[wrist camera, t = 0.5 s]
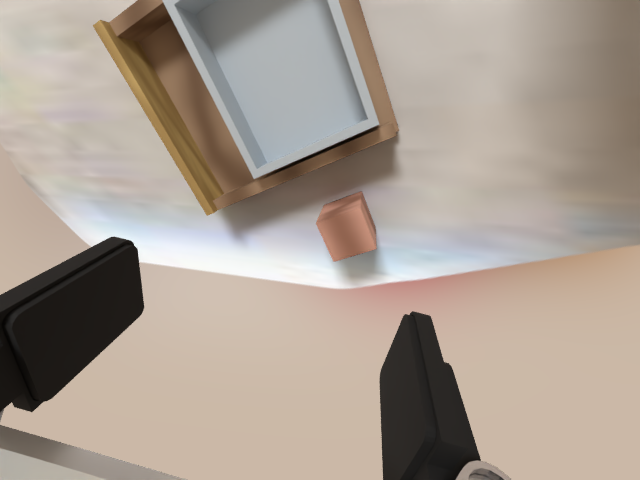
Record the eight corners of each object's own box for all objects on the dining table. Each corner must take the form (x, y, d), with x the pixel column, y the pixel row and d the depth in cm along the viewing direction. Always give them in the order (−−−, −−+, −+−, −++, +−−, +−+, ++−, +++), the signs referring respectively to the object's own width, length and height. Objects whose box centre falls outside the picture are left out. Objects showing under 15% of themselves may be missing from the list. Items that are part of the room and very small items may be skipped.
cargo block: (361, 191, 35) (360, 207, 29) (375, 227, 36) (376, 248, 31) (323, 205, 36) (315, 223, 31) (338, 239, 38) (333, 261, 33)
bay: (326, -104, 24) (316, -150, 20) (398, 129, 31) (403, 134, 27) (132, 36, 31) (92, 25, 27) (226, 202, 38) (207, 215, 34)
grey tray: (313, -75, 24) (303, -107, 21) (378, 121, 30) (379, 124, 26) (189, 12, 28) (161, -1, 25) (266, 170, 34) (253, 179, 30)
